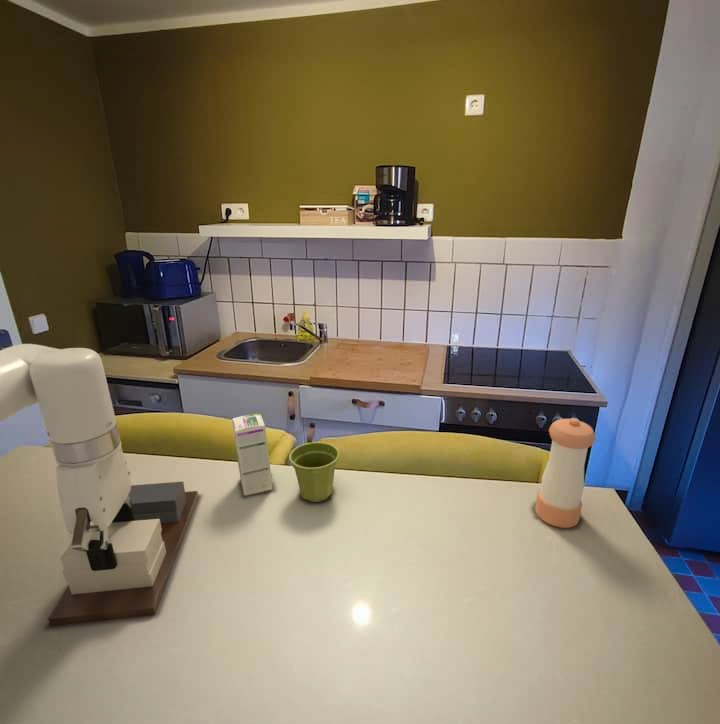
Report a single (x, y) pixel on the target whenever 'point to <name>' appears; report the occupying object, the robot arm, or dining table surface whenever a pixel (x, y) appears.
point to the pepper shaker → (564, 473)
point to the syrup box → (252, 453)
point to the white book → (120, 544)
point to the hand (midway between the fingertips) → (115, 547)
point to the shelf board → (127, 600)
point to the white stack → (117, 574)
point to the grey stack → (158, 501)
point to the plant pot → (314, 469)
